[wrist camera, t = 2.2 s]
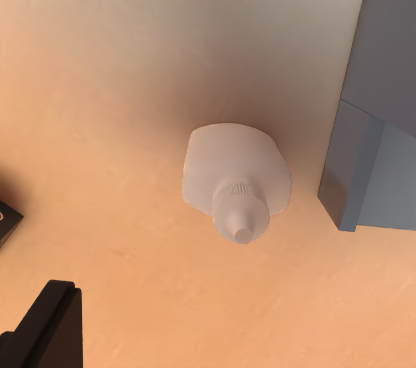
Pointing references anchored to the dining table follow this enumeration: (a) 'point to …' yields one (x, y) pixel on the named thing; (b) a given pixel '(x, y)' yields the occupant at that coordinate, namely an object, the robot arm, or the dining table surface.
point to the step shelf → (376, 124)
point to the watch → (8, 221)
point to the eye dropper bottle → (236, 179)
